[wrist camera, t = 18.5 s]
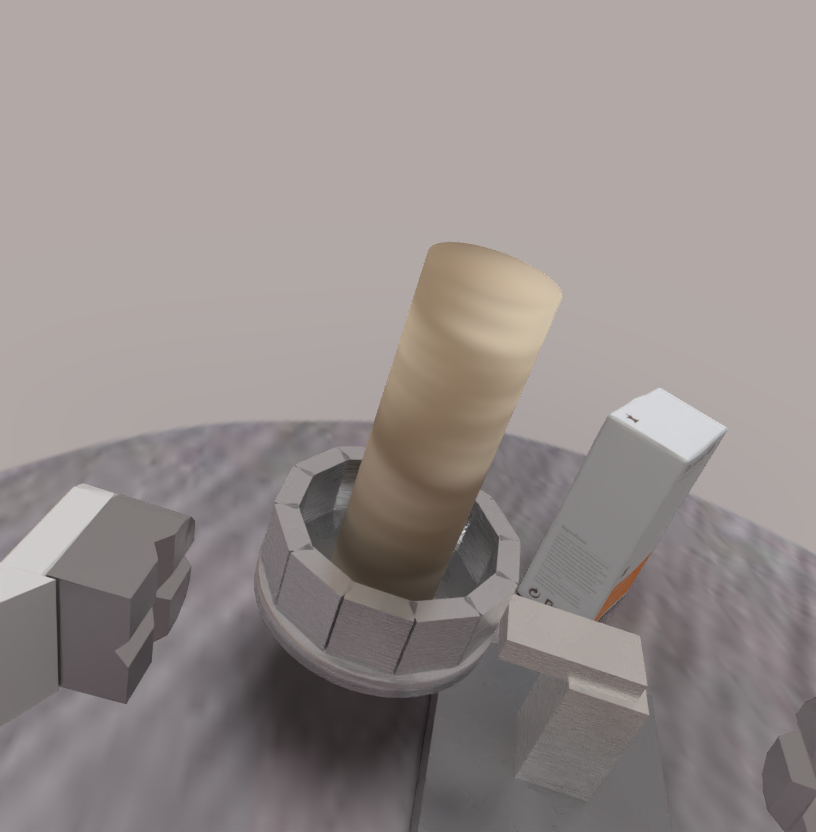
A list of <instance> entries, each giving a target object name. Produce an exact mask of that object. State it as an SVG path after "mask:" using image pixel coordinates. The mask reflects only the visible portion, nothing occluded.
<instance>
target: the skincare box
mask: <svg viewBox="0 0 816 832" xmlns="http://www.w3.org/2000/svg"><path fill="white" fill-rule="evenodd" d="M726 432H727V427H725V426H723V425H721V424H720V423H718V422H717V421H715V420H713V419H712V418H710V417H708V416H706V415H704V414H703V413H701V412H700V411H698V410H696V409H695V408H693V407H691V406H690V405H688V404H686V403H684V402H683V401H681V400H680V399H678V398H676V397H674V396H673V395H671V394H670V393H668V392H666V391H665V390H663V389H661V388H657V389H655V390H652V391H651V392H649V393H647V394H645V395H644V396H639V397H637V398H635V399H633V400H632V401H630V402H629V403H628V404H626V405H625V406H623V407H621V408H620V409H618V410H616V411H614V412H612V413H611V414H609V415H608V416H607V418H606V420H605V422H604V424H603V426H602V427H601V429H600V431H599V433H598V435H597V437H596V439H595V440H594V442H593V444H592V446H591V449H590V450H589V452H588V455H587V457H586V459H585V461H584V462H583V464H582V466H581V468H580V470H579V472H578V474H577V476H576V478H575V480H574V482H573V484H572V485H571V487H570V489H569V491H568V493H567V495H566V497H565V499H564V501H563V503H562V505H561V507H560V509H559V511H558V513H557V515H556V517H555V518H554V520H553V522H552V524H551V526H550V528H549V530H548V532H547V534H546V536H545V537H544V539H543V541H542V543H541V545H540V547H539V549H538V551H537V553H536V555H535V557H534V559H533V561H532V563H531V565H530V567H529V568H528V570H527V572H526V574H525V576H524V578H523V580H522V582H521V584H520V586H519V588H518V590H517V591H518V593H519V594H520V595H521V596H522V597H524V598H527V599H530V600H533V601H536V602H539V603H542V604H545V605H548V606H551V607H554V608H557V609H561V610H564V611H567V612H570V613H573V614H576V615H579V616H582V617H585V618H588V619H591V620H594V621H598V620H599V619H600V618H601V617H602V616H603V615H604V614H605V613H606V612H607V611H608V610H610V609H611V608H612V607H613V606H614V605H615V604H616V603H617V602H618V601H619V600H620V599H621V598H622V597H623V596H624V595H625V594H626V593H627V591H628V590H629V588H630V586H631V585H632V583H633V581H634V580H635V578H636V577H637V575H638V574H639V572H640V570H641V569H642V567H643V566H644V564H645V562H646V561H647V559H648V558H649V556H650V554H651V553H652V551H653V550H654V548H655V546H656V545H657V543H658V542H659V540H660V538H661V537H662V535H663V533H664V532H665V530H666V529H667V527H668V525H669V524H670V522H671V521H672V519H673V517H674V516H675V514H676V513H677V511H678V509H679V508H680V506H681V505H682V503H683V501H684V500H685V498H686V496H687V495H688V493H689V492H690V490H691V488H692V487H693V485H694V483H695V482H696V480H697V479H698V477H699V475H700V474H701V472H702V471H703V469H704V467H705V466H706V464H707V462H708V460H709V459H710V458H711V456H712V454H713V453H714V451H715V450H716V448H717V446H718V445H719V443H720V441H721V440H722V438H723V437H724V435H725V433H726Z"/></svg>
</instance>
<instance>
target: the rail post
mask: <svg viewBox="0 0 816 832" xmlns="http://www.w3.org/2000/svg"><path fill="white" fill-rule="evenodd" d="M561 300H562V292H561V290H560V288H559V287H558V285H557V284H556V283H555V282H554V281H553V280H552V279H551V278H549V277H548V276H547V275H545V274H544V273H543V272H541V271H540V270H538V269H536V268H535V267H533V266H531V265H529V264H527V263H525V262H523V261H521V260H519V259H517V258H514V257H512V256H509V255H507V254H504V253H501V252H499V251H496V250H492V249H488V248H485V247H481V246H477V245H472V244H466V243H457V242H445V243H438V244H435V245H433V246H432V247H430V248H429V250H428V253H427V256H426V259H425V263H424V266H423V269H422V272H421V275H420V278H419V282H418V285H417V288H416V291H415V294H414V297H413V300H412V304H411V307H410V310H409V313H408V316H407V319H406V323H405V326H404V329H403V332H402V335H401V338H400V342H399V345H398V348H397V351H396V354H395V358H394V360H393V364H392V367H391V370H390V373H389V377H388V379H387V383H386V386H385V389H384V392H383V396H382V398H381V402H380V405H379V408H378V411H377V414H376V417H375V421H374V424H373V427H372V430H371V433H370V436H369V439H368V443H367V446H366V449H365V452H364V455H363V458H362V462H361V465H360V468H359V471H358V474H357V477H356V481H355V484H354V487H353V490H352V493H351V496H350V500H349V503H348V506H347V509H346V512H345V515H344V518H343V522H342V525H341V528H340V531H339V534H338V537H337V541H336V544H335V547H334V550H333V553H332V556H331V560H330V561H331V562H332V563H333V564H334V565H335V566H336V567H338V568H339V569H340V570H341V571H342V572H343V573H345V574H346V575H347V576H348V577H349V578H350V579H352V580H353V581H354V582H356V583H359V584H362V585H365V586H368V587H371V588H374V589H377V590H380V591H383V592H386V593H389V594H392V595H395V596H398V597H401V598H404V599H407V600H410V601H424V600H433V598H434V596H435V594H436V591H437V589H438V587H439V584H440V582H441V580H442V577H443V575H444V573H445V570H446V568H447V566H448V563H449V561H450V559H451V556H452V554H453V552H454V549H455V547H456V545H457V542H458V540H459V538H460V535H461V533H462V531H463V528H464V526H465V524H466V521H467V519H468V517H469V514H470V512H471V510H472V507H473V505H474V503H475V500H476V498H477V496H478V493H479V491H480V489H481V486H482V484H483V482H484V479H485V477H486V475H487V472H488V470H489V468H490V465H491V463H492V461H493V458H494V456H495V454H496V451H497V449H498V447H499V444H500V442H501V440H502V437H503V435H504V433H505V430H506V428H507V425H508V423H509V421H510V418H511V416H512V414H513V411H514V409H515V407H516V405H517V402H518V400H519V398H520V395H521V393H522V391H523V388H524V386H525V384H526V381H527V379H528V377H529V374H530V372H531V370H532V367H533V365H534V363H535V360H536V358H537V355H538V353H539V351H540V349H541V346H542V344H543V341H544V339H545V337H546V335H547V332H548V330H549V327H550V325H551V323H552V321H553V318H554V316H555V313H556V311H557V309H558V306H559V304H560V302H561Z"/></svg>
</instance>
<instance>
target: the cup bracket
mask: <svg viewBox="0 0 816 832" xmlns="http://www.w3.org/2000/svg"><path fill="white" fill-rule="evenodd" d="M365 449H366V447H341V446H339V447H338V448H337V447H335V448H332V449H330V450H328V451H325V452H323V453H321V454H319V455H316V456H314V457H312V458H309V459H307V460H305V461H302V462H300V463H298V464H295V466H293V468H292V469H291V471H290V473H289V475H288V477H287V479H286V481H285V483H284V485H283V487H282V488H281V490H280V492H279V494H278V496H277V498H276V500H275V502H274V506H273V510H272V514H271V518H270V522H269V526H268V530H267V533H266V535H265V537H264V540H263V542H262V545H261V549H260V553H259V557H258V561H257V565H256V571H255V576H254V591H255V597H256V602H257V605H258V608H259V611H260V614H261V616H262V618H263V620H264V622H265V624H266V626H267V628H268V630H269V631H270V632H271V634H272V635H273V637H274V638H275V639H276V641H277V642H278V643H279V644H280V645H281V646H282V647H283V648H284V650H285V651H286V652H287V653H288V654H289V655H291V656H292V657H293V658H294V659H295V660H296V661H298V662H299V663H300V664H301V665H303V666H304V667H306V668H307V669H309V670H310V671H312V672H313V673H315V674H316V675H318V676H320V677H322V678H324V679H326V680H327V681H329V682H331V683H334V684H336V685H339V686H341V687H344V688H346V689H349V690H352V691H356V692H360V693H363V694H367V695H373V696H380V697H390V698H408V697H419V696H424V695H429V694H431V700H430V706H429V712H428V719H427V725H426V731H425V738H424V744H423V750H422V756H421V763H420V769H419V775H418V781H417V788H416V794H415V800H414V807H413V813H412V819H411V825H410V832H672V826H671V819H670V813H669V806H668V800H667V793H666V787H665V780H664V774H663V767H662V761H661V754H660V747H659V741H658V734H657V728H656V721H655V715H654V708H653V702H652V696H650V695H647V694H646V688H647V680H646V674H645V667H644V660H643V653H642V647H641V640H640V636H639V635H636V634H633V633H630V632H627V631H624V630H621V629H618V628H615V627H612V626H609V625H606V624H603V623H600V622H597V621H594V620H591V619H588V618H585V617H582V616H579V615H576V614H573V613H570V612H567V611H564V610H561V609H557V608H554V607H551V606H548V605H545V604H542V603H539V602H536V601H533V600H530V599H527V598H524V597H521V596H518V595H515V594H514V592H515V590H516V588H517V586H518V584H519V564H520V539H519V538H518V536H517V535H516V533H515V531H514V530H513V528H512V527H511V525H510V524H509V522H508V521H507V519H506V517H505V516H504V514H503V513H502V511H501V510H500V508H499V507H498V505H497V503H496V502H495V500H492V497H490V496H489V495H488V494H486V493H485V492H483V491H482V490H481V489H480V491H479V493H478V496H477V498H476V500H475V503H474V505H473V507H472V510H471V512H470V514H469V517H468V519H467V521H466V524H465V526H464V528H463V531H462V533H461V535H460V538H459V540H458V542H457V545H456V547H455V549H454V552H453V554H452V556H451V559H450V561H449V563H448V566H447V568H446V570H445V573H444V575H443V577H442V580H441V582H440V584H439V587H438V589H437V591H436V594H435V596H434V598H433V600H424V601H410V600H407V599H404V598H401V597H398V596H395V595H392V594H389V593H386V592H383V591H380V590H377V589H374V588H371V587H368V586H365V585H362V584H359V583H356V582H354V581H353V580H352V579H350V578H349V577H348V576H347V575H346V574H345V573H343V572H342V571H341V570H340V569H339V568H338V567H336V566H335V565H334V564H333V563H332V562H331V561H330V560H331V556H332V553H333V550H334V547H335V544H336V541H337V537H338V534H339V531H340V528H341V525H342V522H343V518H344V515H345V512H346V509H347V506H348V503H349V500H350V496H351V493H352V490H353V487H354V484H355V481H356V477H357V474H358V471H359V468H360V465H361V462H362V458H363V455H364V452H365ZM499 622H500V628H499V642H498V645H497V644H494V643H491V641H492V639H493V637H494V635H495V633H496V630H497V627H498V625H499Z"/></svg>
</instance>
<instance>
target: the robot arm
mask: <svg viewBox="0 0 816 832" xmlns="http://www.w3.org/2000/svg"><path fill="white" fill-rule="evenodd" d="M194 530H195V520H194V519H193V518H192V517H191V516H188V515H185V514H182V513H179V512H175V511H172V510H169V509H166V508H163V507H159V506H156V505H153V504H150V503H147V502H144V501H140V500H137V499H134V498H131V497H128V496H124V495H121V494H119V495H118V494H115V493H112V492H109V491H106V490H102V489H99V488H96V487H93V486H90V485H87V484H84V483H83V484H80V485H78V486H75V487H73V488H72V489H70V491H69V492H68V493H67V494H66V495H65V496H64V497H63V498H62V499H61V500H60V501H59V502H58V503H57V504H56V505H55V506H54V507H53V508H52V509H51V510H50V511H49V512H48V513H47V514H46V515H45V516H44V518H43V519H42V520H41V521H40V522H39V523H38V524H37V525H36V526H35V527H34V528H33V529H32V530H31V531H30V532H29V533H28V534H27V535H26V536H25V537H24V538H23V539H22V540H21V541H20V542H19V544H18V545H17V546H16V547H15V548H14V549H13V550H12V551H11V552H10V553H9V554H8V555H7V556H6V557H5V558H4V559H3V560H2V561H1V562H0V727H1V726H2V725H4V724H6V723H7V722H9V721H10V720H12V719H14V718H15V717H17V716H19V715H20V714H22V713H23V712H25V711H27V710H28V709H30V708H31V707H33V706H35V705H36V704H38V703H39V702H41V701H43V700H44V699H46V698H47V697H49V696H51V695H52V694H54V693H55V692H57V691H58V690H59V687H63V688H67V689H71V690H75V691H78V692H82V693H86V694H90V695H93V696H97V697H101V698H105V699H109V700H112V701H116V702H120V703H124V704H127V702H128V700H129V699H130V697H131V695H132V694H133V692H134V690H135V689H136V687H137V685H138V684H139V682H140V680H141V679H142V677H143V675H144V674H145V672H146V670H147V669H148V667H149V665H150V664H151V662H152V650H153V642H155V641H157V640H159V639H161V638H163V637H165V636H167V635H168V633H169V631H170V630H171V628H172V626H173V624H174V623H175V621H176V619H177V617H178V615H179V612H180V610H181V607H182V605H183V602H184V600H185V597H186V594H187V589H188V585H189V581H190V574H191V565H190V563H189V561H188V560H187V558H186V557H185V554H186V552H187V551H188V549H189V547H190V546H191V544H192V543H193V541H194ZM796 718H797V722H798V727H799V729H797V730H794V731H791V732H789V733H786V734H784V735H781V736H779V737H778V738H777V739H776V741H775V742H774V744H773V745H772V747H771V748H770V750H769V751H768V753H767V756H766V760H765V765H764V769H763V773H762V778H763V793H764V798H765V802H766V806H767V810H768V812H769V813H770V814H771V816H772V817H773V818H774V819H775V821H776V822H777V823H778V824H779V826H780V827H781V828H782V829H783V831H784V832H816V697H815V698H813V699H811V700H808V701H806V702H805V703H804V705H803V706H802V707H801V708H800V710H799V711H798V712H797V713H796Z"/></svg>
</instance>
